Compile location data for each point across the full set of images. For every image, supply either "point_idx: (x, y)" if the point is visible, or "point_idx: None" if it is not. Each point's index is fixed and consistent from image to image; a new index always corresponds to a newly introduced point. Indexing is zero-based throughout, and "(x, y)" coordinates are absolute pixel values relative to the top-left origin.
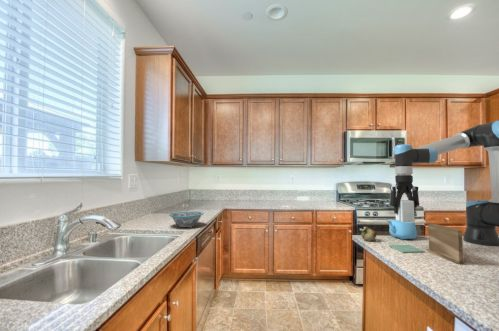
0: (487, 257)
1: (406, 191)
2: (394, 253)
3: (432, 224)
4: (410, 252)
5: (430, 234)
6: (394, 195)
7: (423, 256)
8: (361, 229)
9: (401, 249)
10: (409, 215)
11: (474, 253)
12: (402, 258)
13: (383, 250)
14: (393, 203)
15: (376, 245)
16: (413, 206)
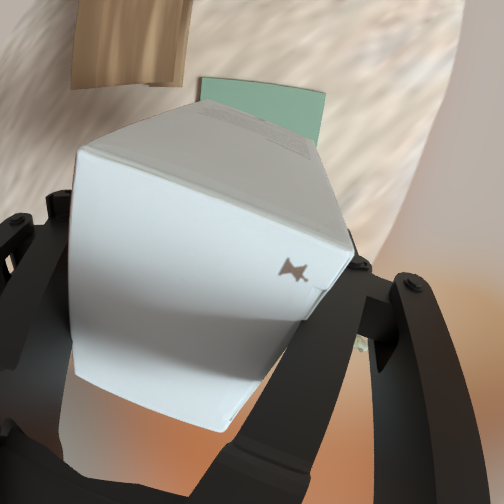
0: (31, 20)
1: (45, 497)
2: (372, 101)
3: (100, 44)
4: (283, 86)
5: (137, 67)
6: (465, 433)
7: (266, 28)
8: (363, 342)
9: (302, 125)
10: (243, 120)
11: (29, 62)
12: (392, 37)
13: (386, 155)
14: (431, 304)
15: (353, 230)
16: (145, 121)
